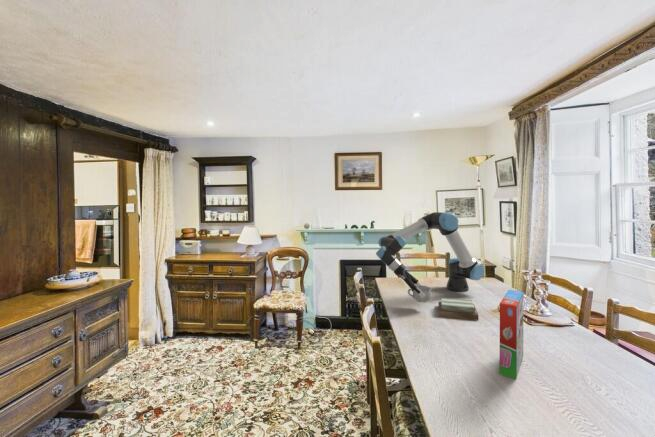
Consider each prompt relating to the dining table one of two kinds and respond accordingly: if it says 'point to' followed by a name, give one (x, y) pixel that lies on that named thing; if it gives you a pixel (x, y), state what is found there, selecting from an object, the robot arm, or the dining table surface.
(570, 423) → the dining table surface
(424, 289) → the teacup
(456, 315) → the block stand
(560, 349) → the dining table surface
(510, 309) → the game box
